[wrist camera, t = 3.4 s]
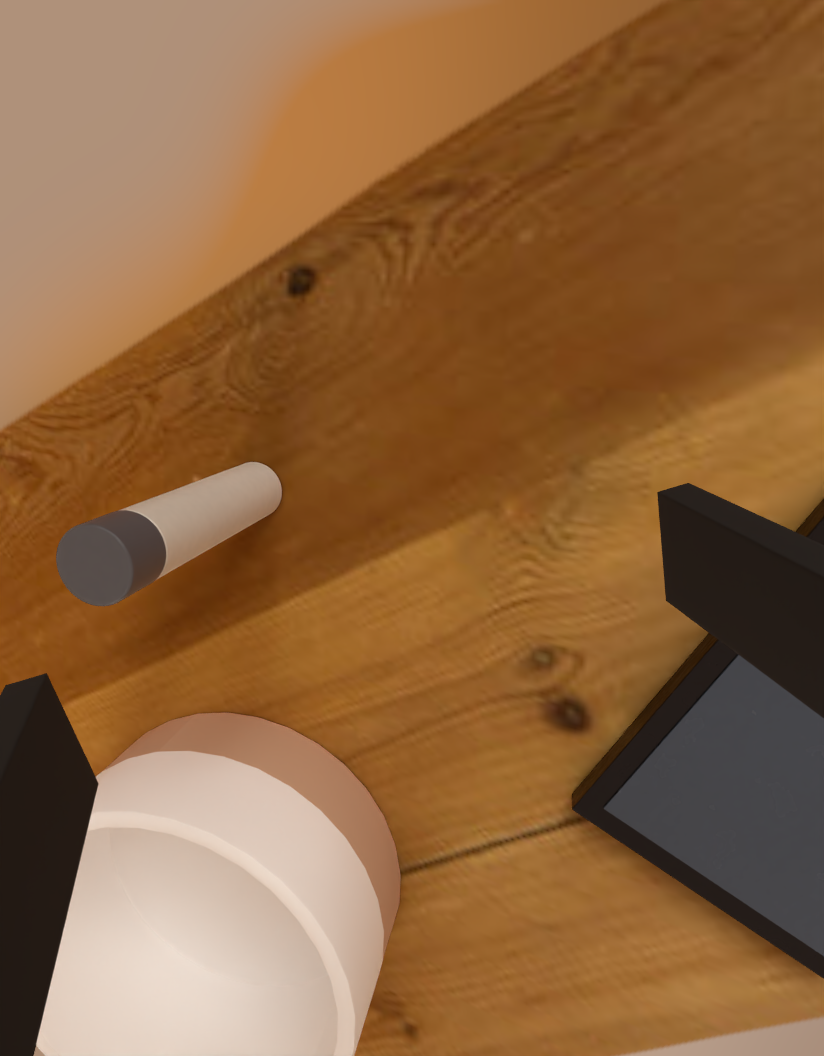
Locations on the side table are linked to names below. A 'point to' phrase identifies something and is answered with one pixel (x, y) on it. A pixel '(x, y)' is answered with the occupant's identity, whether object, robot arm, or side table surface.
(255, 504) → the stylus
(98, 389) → the side table surface
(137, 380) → the side table surface
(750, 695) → the tablet
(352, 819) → the bowl
